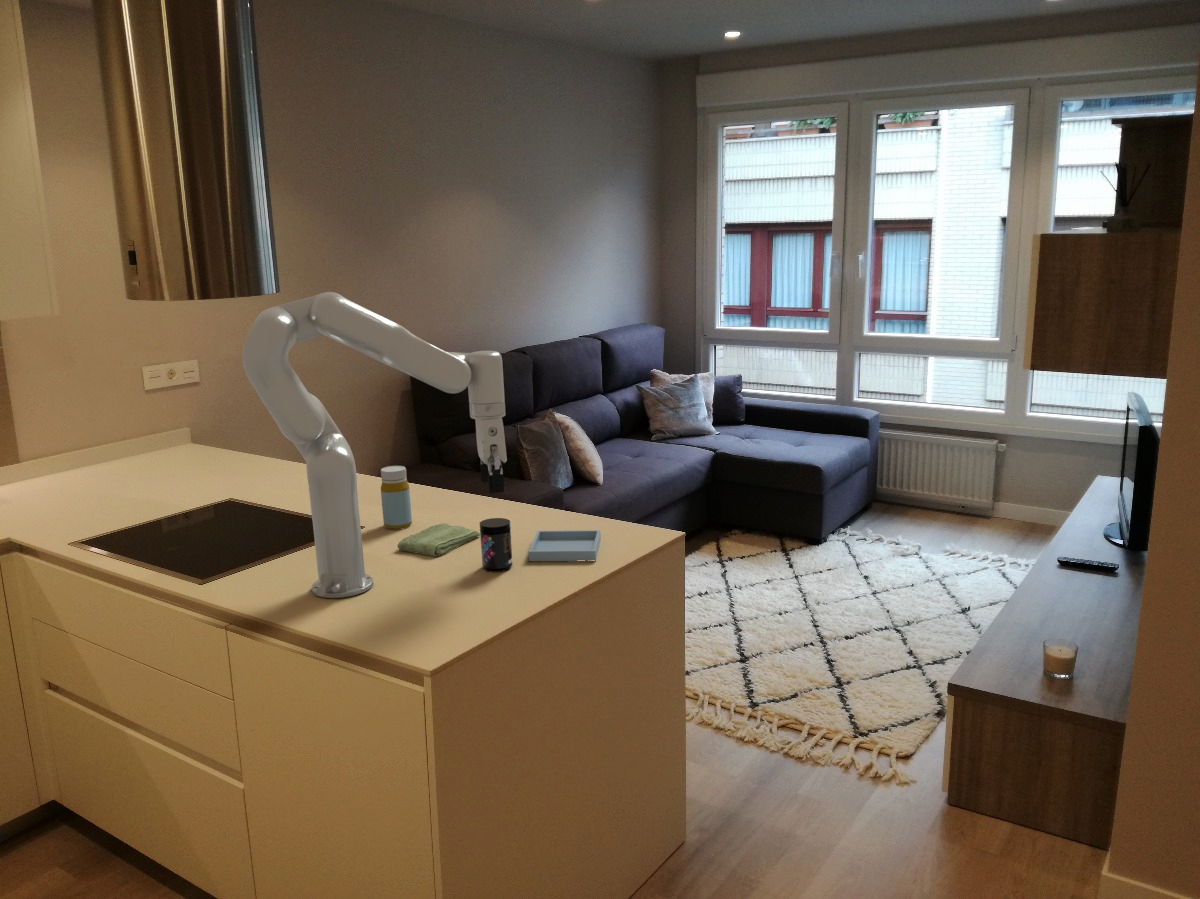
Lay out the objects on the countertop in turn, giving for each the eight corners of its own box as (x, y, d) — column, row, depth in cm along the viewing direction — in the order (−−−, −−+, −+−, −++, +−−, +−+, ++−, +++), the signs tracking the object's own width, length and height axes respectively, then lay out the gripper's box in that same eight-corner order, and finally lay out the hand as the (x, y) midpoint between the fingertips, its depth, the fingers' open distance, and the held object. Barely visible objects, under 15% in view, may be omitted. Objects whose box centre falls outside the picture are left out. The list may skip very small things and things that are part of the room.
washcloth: (483, 538, 241) (482, 525, 240) (437, 560, 226) (436, 547, 225) (441, 531, 247) (440, 519, 247) (393, 552, 232) (392, 539, 232)
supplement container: (486, 562, 222) (483, 517, 220) (515, 562, 222) (513, 517, 219) (479, 572, 216) (476, 527, 214) (509, 573, 215) (506, 527, 213)
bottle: (405, 530, 247) (401, 472, 244) (379, 529, 249) (374, 472, 245) (416, 522, 254) (411, 465, 250) (390, 521, 255) (385, 465, 252)
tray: (595, 561, 220) (595, 551, 220) (529, 561, 222) (528, 551, 221) (600, 539, 235) (600, 530, 234) (538, 540, 236) (537, 530, 236)
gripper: (512, 415, 204) (517, 495, 208) (497, 401, 220) (502, 475, 224) (476, 418, 202) (482, 499, 206) (463, 404, 218) (469, 479, 222)
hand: (492, 486), depth 215 cm, fingers open, 9 cm apart
